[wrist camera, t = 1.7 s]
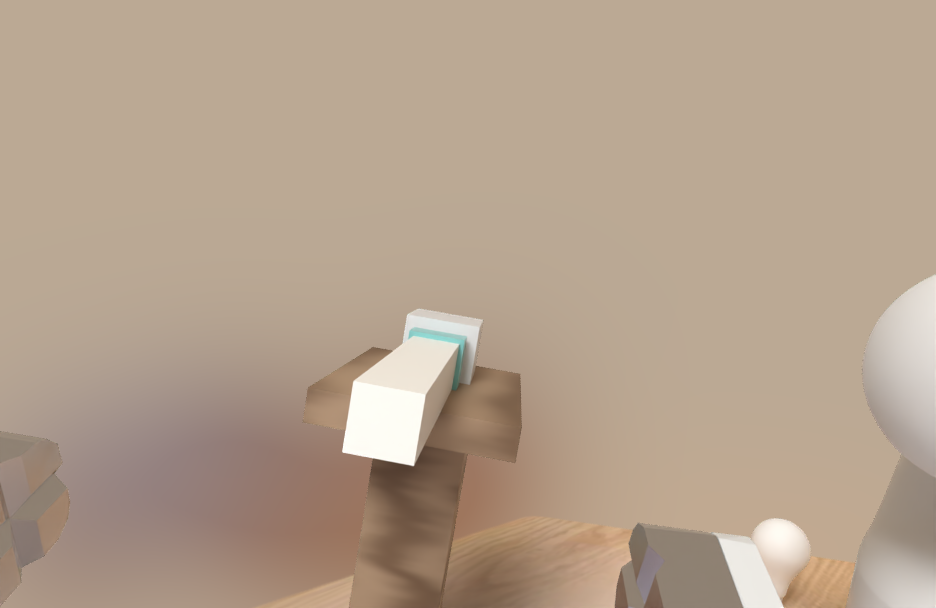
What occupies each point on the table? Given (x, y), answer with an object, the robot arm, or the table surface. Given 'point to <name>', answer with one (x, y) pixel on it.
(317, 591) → the table surface
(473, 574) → the table surface
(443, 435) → the wooden i-beam block
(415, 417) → the bar
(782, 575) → the lightbulb
